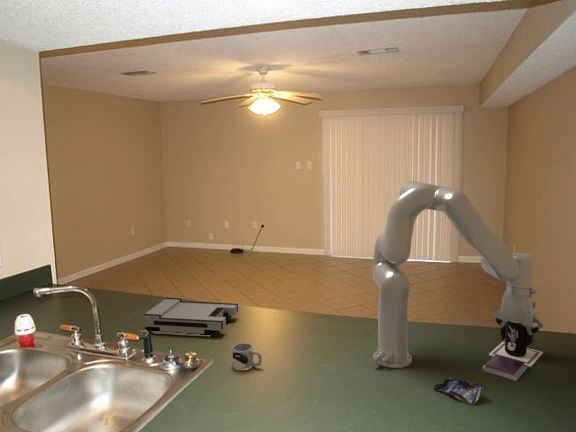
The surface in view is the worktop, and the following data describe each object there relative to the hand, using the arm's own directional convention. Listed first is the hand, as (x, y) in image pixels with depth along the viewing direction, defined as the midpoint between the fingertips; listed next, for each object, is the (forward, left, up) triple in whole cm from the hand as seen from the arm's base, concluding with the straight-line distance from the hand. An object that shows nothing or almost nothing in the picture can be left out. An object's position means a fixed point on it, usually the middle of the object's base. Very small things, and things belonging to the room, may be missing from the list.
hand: (516, 341), depth 155 cm
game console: (-57, +105, -5) cm, 120 cm away
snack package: (-37, +4, -5) cm, 37 cm away
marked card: (0, 0, -5) cm, 5 cm away
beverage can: (0, 0, -4) cm, 4 cm away
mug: (-65, +62, -5) cm, 90 cm away
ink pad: (-13, -1, -5) cm, 14 cm away
